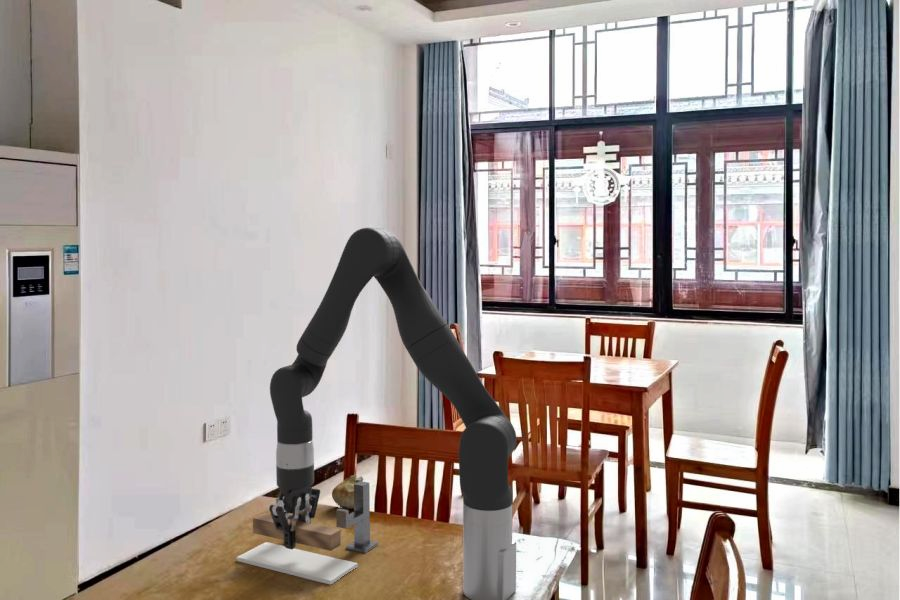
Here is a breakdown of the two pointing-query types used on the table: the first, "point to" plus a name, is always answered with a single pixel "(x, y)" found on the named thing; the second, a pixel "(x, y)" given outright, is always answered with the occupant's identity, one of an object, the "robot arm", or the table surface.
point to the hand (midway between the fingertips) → (296, 544)
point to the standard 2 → (358, 519)
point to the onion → (345, 492)
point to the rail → (300, 532)
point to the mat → (298, 562)
